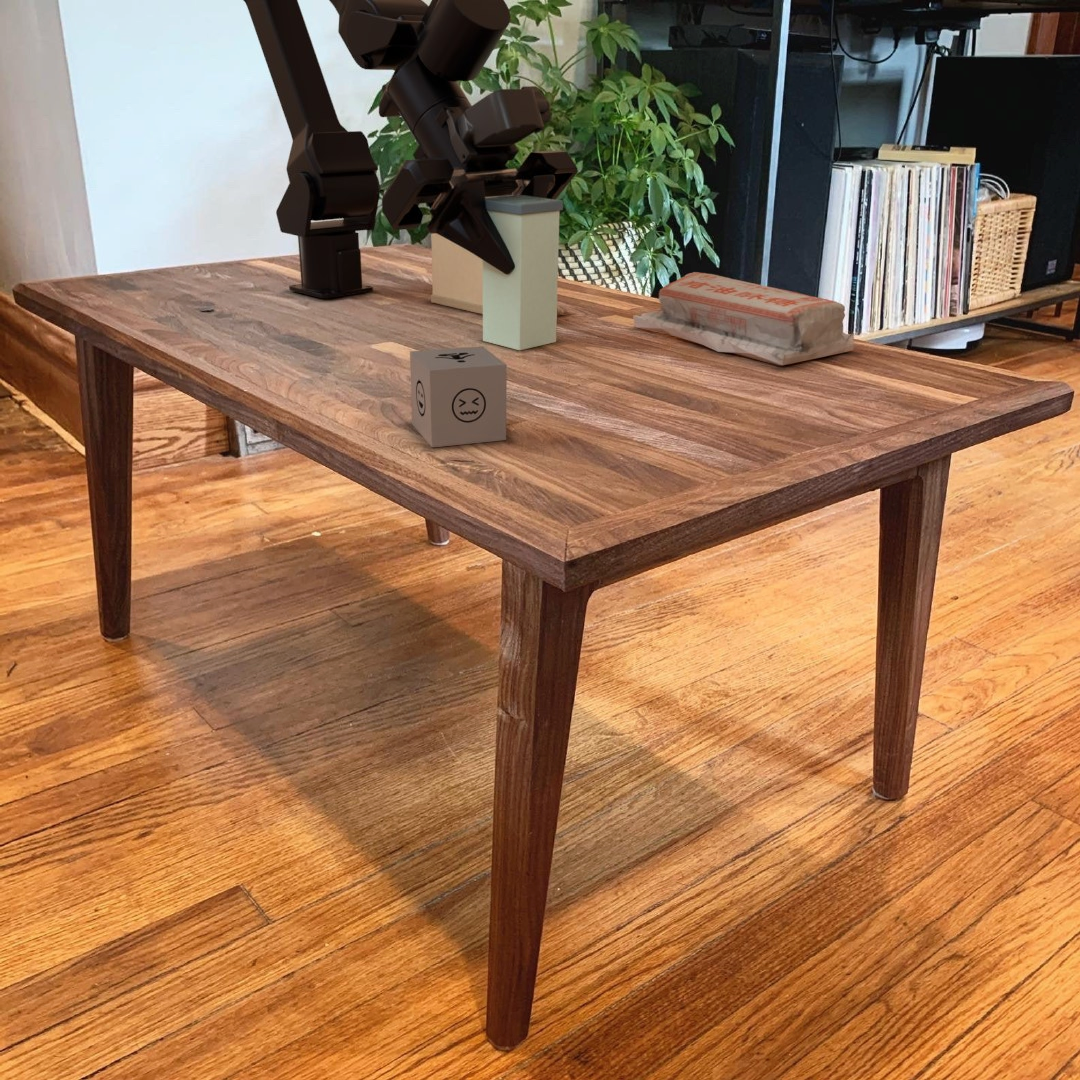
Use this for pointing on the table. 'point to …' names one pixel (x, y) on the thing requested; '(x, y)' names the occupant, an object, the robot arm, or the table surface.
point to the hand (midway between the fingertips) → (531, 267)
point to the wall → (456, 276)
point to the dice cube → (458, 396)
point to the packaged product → (749, 319)
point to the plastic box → (523, 273)
